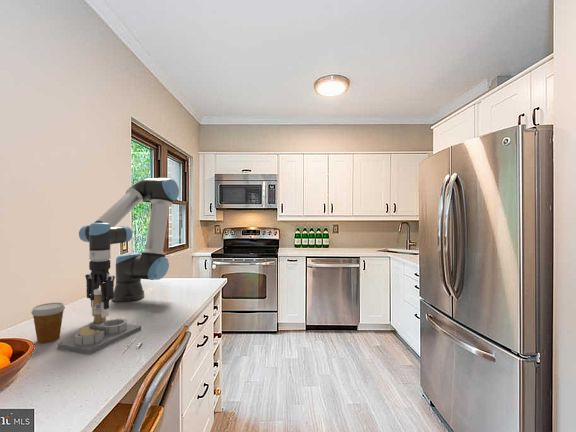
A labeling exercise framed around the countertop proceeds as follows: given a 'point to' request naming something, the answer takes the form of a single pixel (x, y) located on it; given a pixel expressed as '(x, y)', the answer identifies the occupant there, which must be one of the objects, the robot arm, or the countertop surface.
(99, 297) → the sprinkles bottle
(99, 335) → the gear housing
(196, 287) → the countertop surface
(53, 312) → the disposable coffee cup
